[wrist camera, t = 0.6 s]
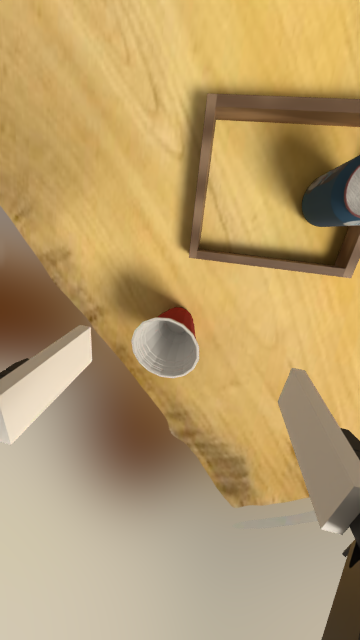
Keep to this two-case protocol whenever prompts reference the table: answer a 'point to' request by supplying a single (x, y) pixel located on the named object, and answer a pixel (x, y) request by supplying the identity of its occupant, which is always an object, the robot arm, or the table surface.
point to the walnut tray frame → (276, 111)
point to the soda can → (334, 197)
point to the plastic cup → (167, 344)
